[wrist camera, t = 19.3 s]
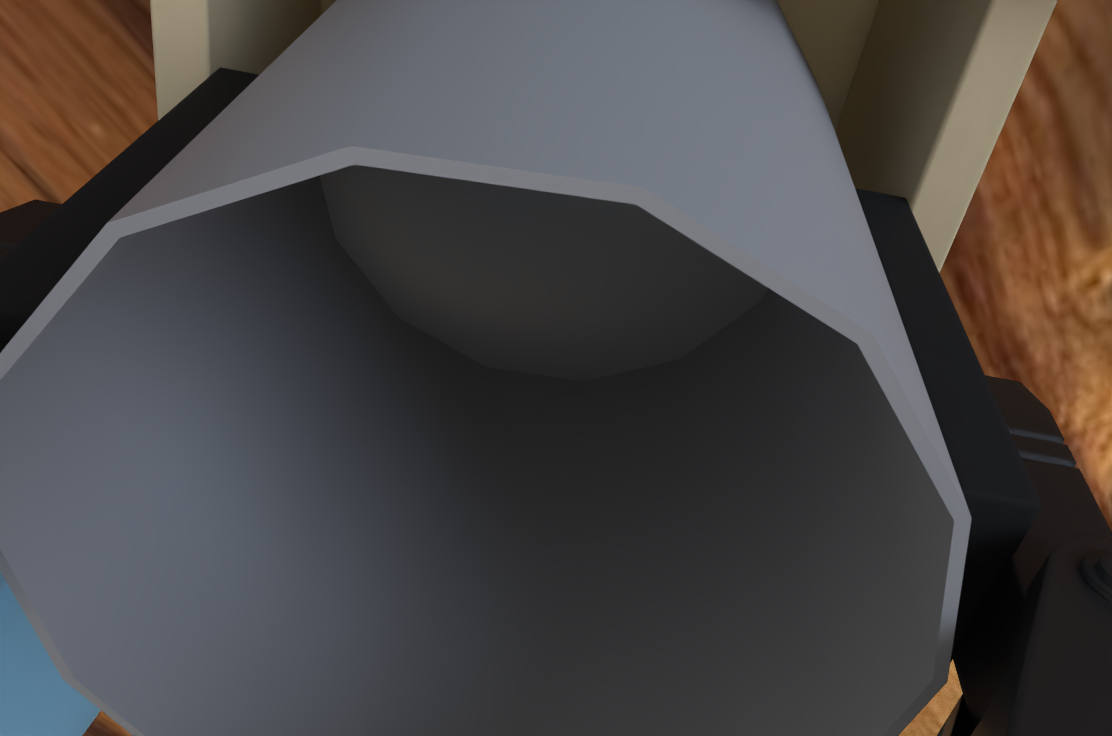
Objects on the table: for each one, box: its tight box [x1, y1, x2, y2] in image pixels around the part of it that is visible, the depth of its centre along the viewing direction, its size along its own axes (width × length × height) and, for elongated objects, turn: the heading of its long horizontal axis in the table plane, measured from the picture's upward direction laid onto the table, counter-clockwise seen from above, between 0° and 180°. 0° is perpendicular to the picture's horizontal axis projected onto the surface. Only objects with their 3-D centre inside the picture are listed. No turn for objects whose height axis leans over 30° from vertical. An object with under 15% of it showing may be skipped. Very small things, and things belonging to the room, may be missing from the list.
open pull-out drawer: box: [150, 0, 1057, 273], centre depth 18 cm, size 21×13×7 cm, turn 171°
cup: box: [0, 0, 972, 736], centre depth 13 cm, size 8×8×10 cm
